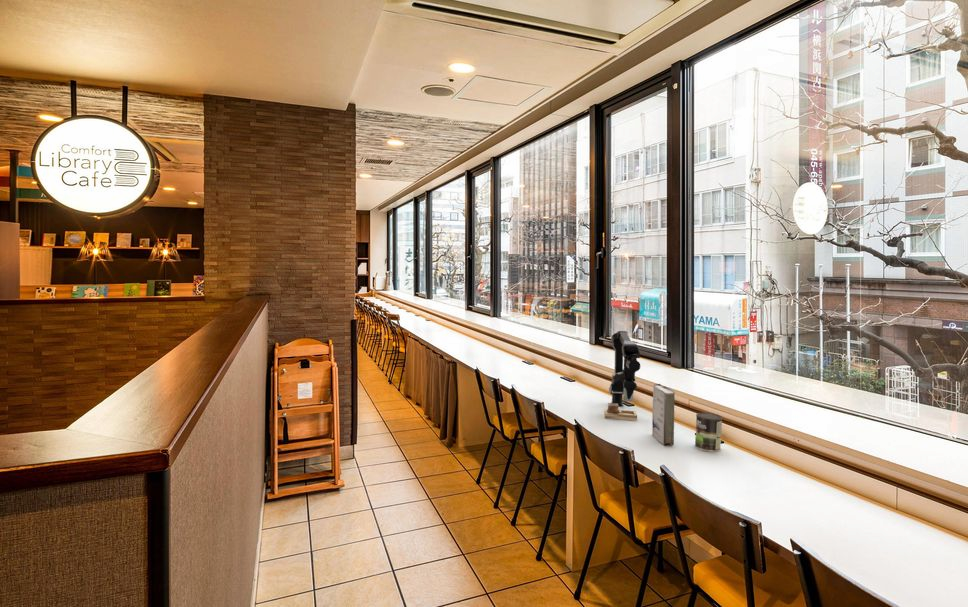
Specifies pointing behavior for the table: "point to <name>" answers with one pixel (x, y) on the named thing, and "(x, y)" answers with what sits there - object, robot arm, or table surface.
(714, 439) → the coffee can
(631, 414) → the caddy base
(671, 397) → the book
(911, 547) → the table surface
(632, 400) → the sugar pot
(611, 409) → the walnut block
